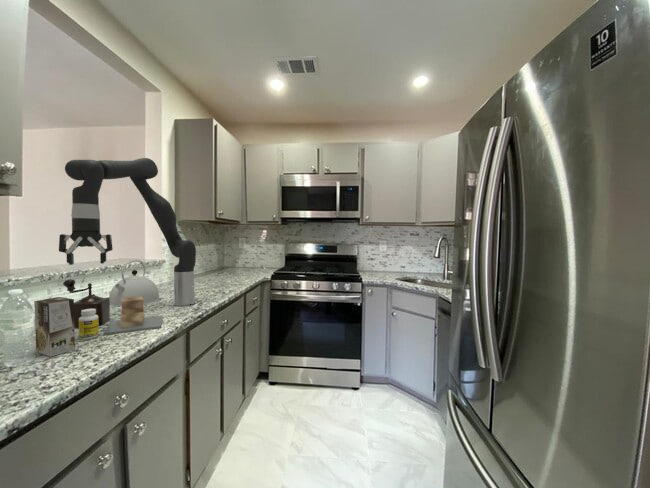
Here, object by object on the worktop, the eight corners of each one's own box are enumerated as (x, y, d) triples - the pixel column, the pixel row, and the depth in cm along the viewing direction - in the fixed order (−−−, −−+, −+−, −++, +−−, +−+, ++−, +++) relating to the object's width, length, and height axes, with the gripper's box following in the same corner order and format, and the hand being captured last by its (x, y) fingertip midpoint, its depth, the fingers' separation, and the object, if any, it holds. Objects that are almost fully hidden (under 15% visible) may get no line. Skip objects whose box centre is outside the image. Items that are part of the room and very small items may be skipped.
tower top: (142, 308, 118) (142, 296, 118) (143, 312, 112) (143, 299, 112) (121, 310, 114) (121, 298, 114) (121, 314, 108) (121, 301, 108)
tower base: (144, 320, 118) (143, 308, 118) (142, 325, 112) (142, 312, 111) (123, 322, 115) (123, 310, 114) (120, 327, 108) (120, 314, 108)
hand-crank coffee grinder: (111, 318, 123) (110, 277, 123) (101, 326, 113) (100, 281, 112) (67, 321, 118) (66, 278, 117) (52, 330, 108) (50, 283, 107)
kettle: (138, 308, 141) (138, 262, 140) (93, 307, 141) (92, 262, 140) (167, 297, 166) (167, 258, 165) (129, 296, 166) (128, 258, 165)
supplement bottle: (82, 341, 97) (81, 312, 96) (76, 338, 100) (75, 310, 99) (101, 336, 101) (100, 309, 101) (95, 333, 104) (94, 307, 104)
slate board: (162, 317, 125) (162, 315, 125) (160, 328, 111) (160, 326, 111) (112, 323, 117) (112, 321, 116) (103, 335, 102) (103, 333, 102)
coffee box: (76, 349, 90) (75, 298, 89) (49, 357, 84) (48, 303, 83) (61, 344, 94) (60, 296, 93) (35, 352, 88) (33, 300, 87)
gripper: (113, 218, 106) (114, 262, 106) (63, 217, 99) (64, 263, 100) (109, 217, 99) (109, 264, 100) (54, 216, 93) (56, 266, 93)
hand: (87, 264), depth 100 cm, fingers open, 8 cm apart
